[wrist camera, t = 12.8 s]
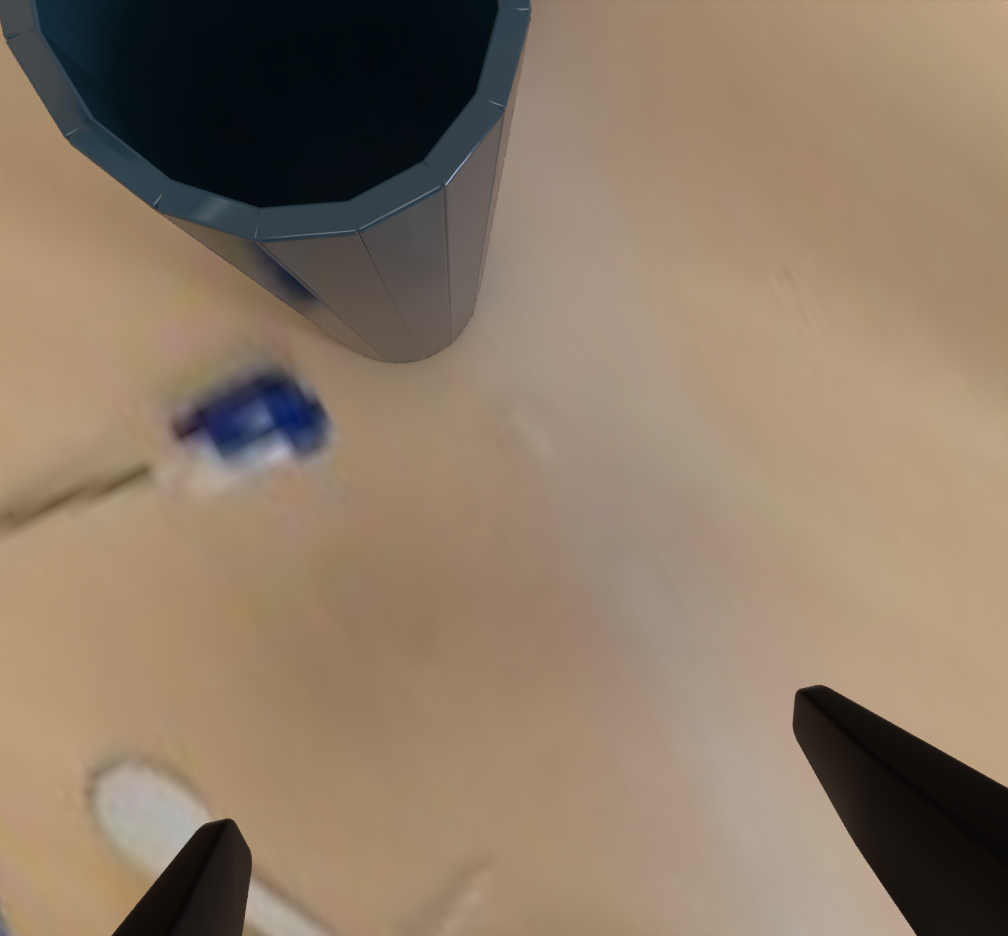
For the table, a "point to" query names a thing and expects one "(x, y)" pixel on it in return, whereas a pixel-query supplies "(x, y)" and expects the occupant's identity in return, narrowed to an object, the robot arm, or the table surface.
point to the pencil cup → (301, 140)
